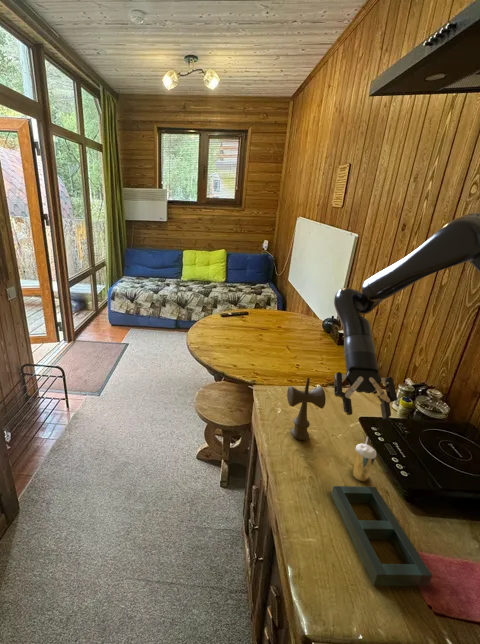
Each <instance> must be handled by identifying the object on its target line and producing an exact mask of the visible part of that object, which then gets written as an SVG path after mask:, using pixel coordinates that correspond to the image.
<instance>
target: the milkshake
mask: <svg viewBox="0 0 480 644" xmlns="http://www.w3.org/2000/svg"><path fill="white" fill-rule="evenodd" d="M368 441H369V436H365V441H364V443H362V442H360V443H358V444H356V446H355V451H354V462H353V470H352V475H353V476H354V477H353V478H355V479H356V480H358V481H360V482H366V481H368V478H369V475H370V473H371V470H372V467H373V465H374V462H375V460H376V458H377V451H376V449H375V448H374V447H373V446H371V445H369V444H368Z"/></svg>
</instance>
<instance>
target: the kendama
mask: <svg viewBox="0 0 480 644" xmlns="http://www.w3.org/2000/svg"><path fill="white" fill-rule="evenodd" d="M309 388H310V377H309V376H308V377H307V378H306V382H305V387H304V390H300V389H297V388H296V387H294V386H292V385H289V386H288V387H287V391H286V398H287V403H288V405H289V407H295V406H297V405H299V404H301V405H300V408H299V411H298V414H297V417H295V418H293V420H292V421H293V424H294V427H292V428H291V429H290V435H291V436H292V437H293V438H295V439H296V440H299V441H306V440H308V439H309V438H310V433H309V432H308V428H309V427H310V425H311V424H310V421H309V420H308V403H309V404H313V405H314V406H316V407H317V408H319V409H324V408H325V406H326V402H327V401H326V398H327V397H326V393H325V389H324V388H323V387H322V386H321V385H319V386H316V387H314V388H313V389H311V390H310V389H309Z"/></svg>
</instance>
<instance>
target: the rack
mask: <svg viewBox="0 0 480 644" xmlns="http://www.w3.org/2000/svg"><path fill="white" fill-rule="evenodd" d="M330 495H331V498H332V501H333V503H334V504H335V506H336V508H337V511H338V513H339V515H340V517H341V520H342V521H343V523H344V525H345V527H346V530H347V532H348V534H349V536H350V538H351V540H352V542H353V544H354V547H355V549H356V551H357V553H358V555H359V557H360V559H361V561H362V564H363V566H364V568H365V571H366V572H367V575H368V576H369V578H370V580H371V583H372V585H373V586H376V587H377V586H381V587H383V586H386V587H387V586H388V587H429V585H430V583H431V580H432V578H433V574H432V573H431V572H432V571H430V570H429V568H428V566H427V564H426V563H425V562H424V560H423V558H422V557H421V555H420V554H419V552H418V551H417V549H416V547H415V546H414V544H413V543H412V542H411V539H410V538H409V537H408V535H407V533H406V532H405V530H404V529H403V527H402V526H401V524H400V522H399V521H398V519H397V518H396V516H395V515H394V513H393V512H392V510H391V509H390V506H389V505H388V504H387V502H386V501H385V499H384V498H383V496H382V494H381V493H380V491H379V490H378V489H377V487H376V486H362V485H361V486H359V485H358V486H355V485H351V486H350V485H332V490H331V494H330ZM352 503H353V504H370V506H371V508H372V510H373V511H374V513H375V515H376V516H377V519H378V520H370V519H369V520H364V519H361V520H360V519H358V516H357V514H356V512H355V511H354V509H353V507H352V505H351V504H352ZM370 540H391V542H392V543H393V545H394V547H395V549H396V550H397V552H398V554H399V555H400V557H401V559H402V561H403V562H404V563H381V560H380V559H379V557H378V555H377V553H376V551H375V549H374V547H373V546H372V543H371V541H370Z"/></svg>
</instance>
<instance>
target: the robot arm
mask: <svg viewBox="0 0 480 644" xmlns="http://www.w3.org/2000/svg"><path fill="white" fill-rule="evenodd" d="M467 262H469V263H470V264H471V265H472V266H473V268H475V270H476V271H477V272H478V273H479V274H480V212H470V213H466V214H463V215H461V216H459V217H456V218H454V219H451V220H450V221H448V222H446V223H445V224H443V225H442V226H441V227H440V228H439V229H438V230H437V231H436V232H434V233H433V235H431V236H430V237H429V238H427V240H426V241H424V242H423V243H422V244H421V245H420V246H418V247H417V248H416V249H415V250H412V252H411V253H409V254H407V255H406V256H404V257H403V258H401V259H399V260H397V261H395V262H394V263H392V264H390V265H388V266H386V267H385V268H383V269H381V270H379V271H377V272H376V273H375V274H373V275H371V276H370V277H368V278H367V279H365V280H364V281H363V282H362V284H361V290H358V289H356V288H355V289H354V288H351V287H342V288H340V289H339V290H338V291H336V293H335V294H334V297H333V298H334V299H333V304H334V309H335V311H336V314H337V315H338V319H339V321H340V324H341V326H342V332H343V333H342V334H343V354H344V362H345V371H346V374H345V373H342V372H341V371H338V372H336V373H334V375H333V378H334V379H333V380H334V381H333V382H334V383H333V386H334V387H333V389H334V391H333V392H334V396H335V397H337V398H341V399H342V406H343V407H342V408H343V412H344V413H345V414H346V415H347V416H351V415H353V407H352V406H353V405H352V398H351V396H352V395H353V394H354V393H355V392H356V393H364V394H372V395H373V396H374V397H375V398H377V400H378V401H379V402H380V411H381V412H380V413H381V418H382V419H383V420H389V419H390V417H391V416H392V412H391V404H390V403H393V402H396V401H398V395H397V390H396V387H395V381H394V378H393V377H391V376H388V377H381V376H380V374H379V366H378V361H377V351H376V347H375V343H374V339H373V334H372V327H371V322H370V321H369V319H367V318H366V317H364V315H367V314H370V313H371V312H372V311H373V310H374V309H376V308H377V307H378V306H379V305H380V304H381V303H382V302H383V301H384V300H386V299H388V298H390V297H392V296H394V295H396V294H398V293H400V292H401V291H404V290H406V289H407V288H408V287H410V286H412V285H414V284H415V283H417V282H419V281H420V280H421V279H424V278H426V277H428V276H430V275H432V274H436V273H438V272H440V271H442V270H445V269H446V270H447V269H449V268H453V267H456V266H458V265H461V264H465V263H467ZM345 380H346V382H347V383H348V384H349V386H348V387H347V388H346V390H345V391H343V382H344V381H345ZM380 384H382V386H383V387H384V389H385V391H384V389H383V388H382V387H381V386H380Z"/></svg>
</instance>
